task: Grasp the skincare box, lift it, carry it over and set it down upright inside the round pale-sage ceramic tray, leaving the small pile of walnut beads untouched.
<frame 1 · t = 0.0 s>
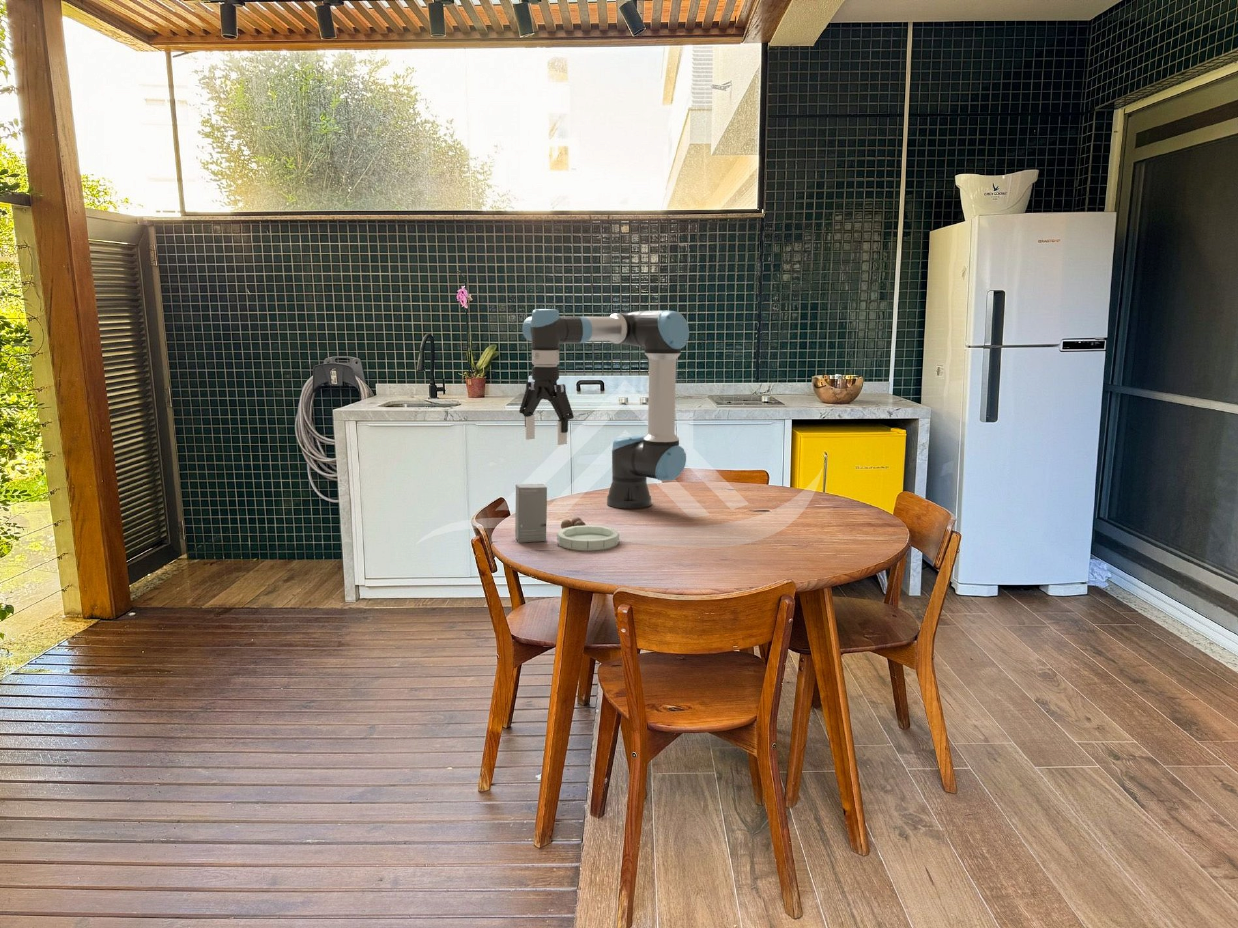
hand: (545, 441, 234), 28 cm above the table, fingers open, 13 cm apart
bead b: (567, 531, 246), on the table
bead c: (579, 532, 245), on the table
tray: (588, 542, 235), on the table
bead a: (576, 529, 249), on the table
skincare box: (531, 539, 238), on the table
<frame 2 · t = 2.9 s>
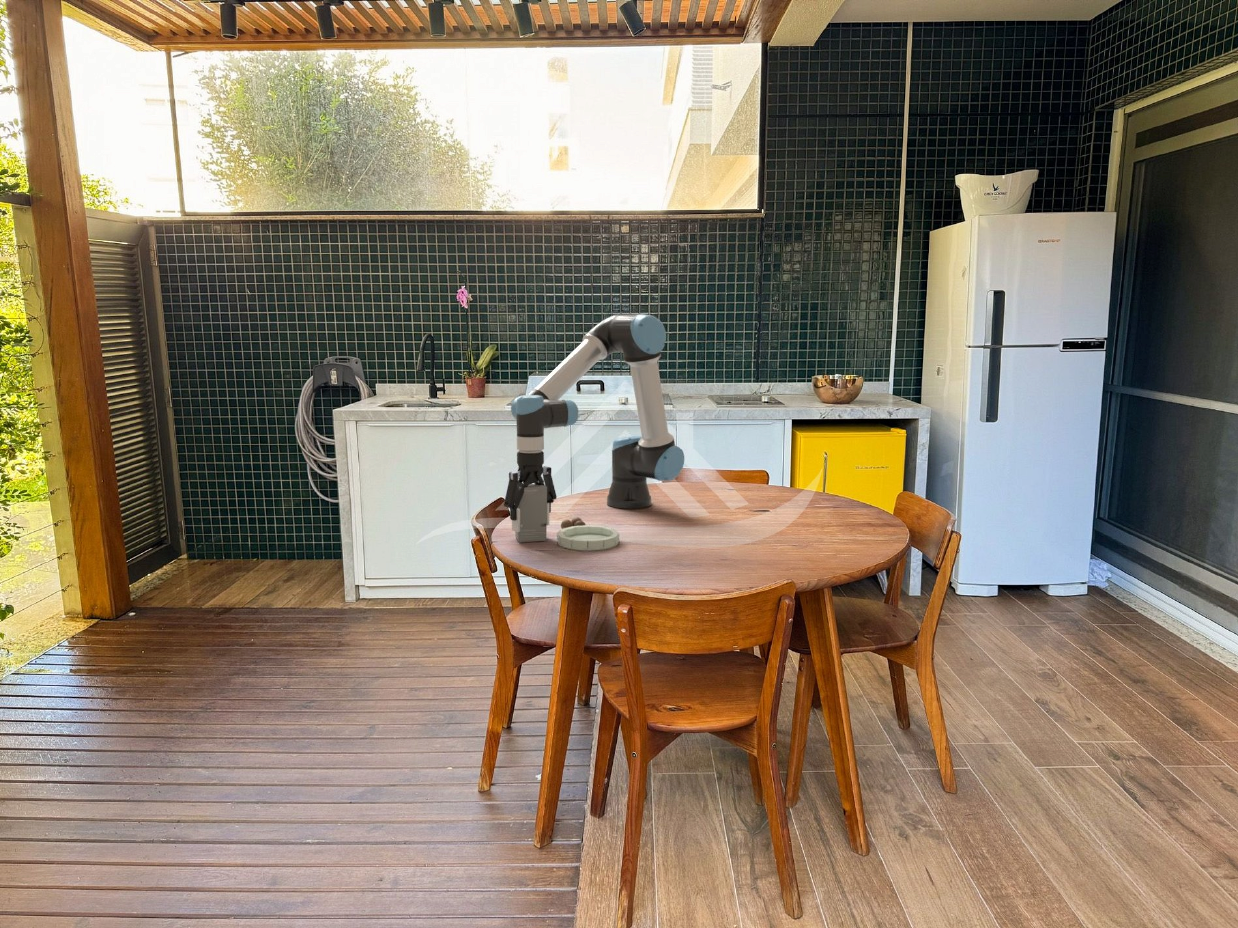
hand: (531, 527, 237), 3 cm above the table, fingers closed on skincare box, 10 cm apart
skincare box: (531, 539, 238), on the table, touching gripper
everything else where it was.
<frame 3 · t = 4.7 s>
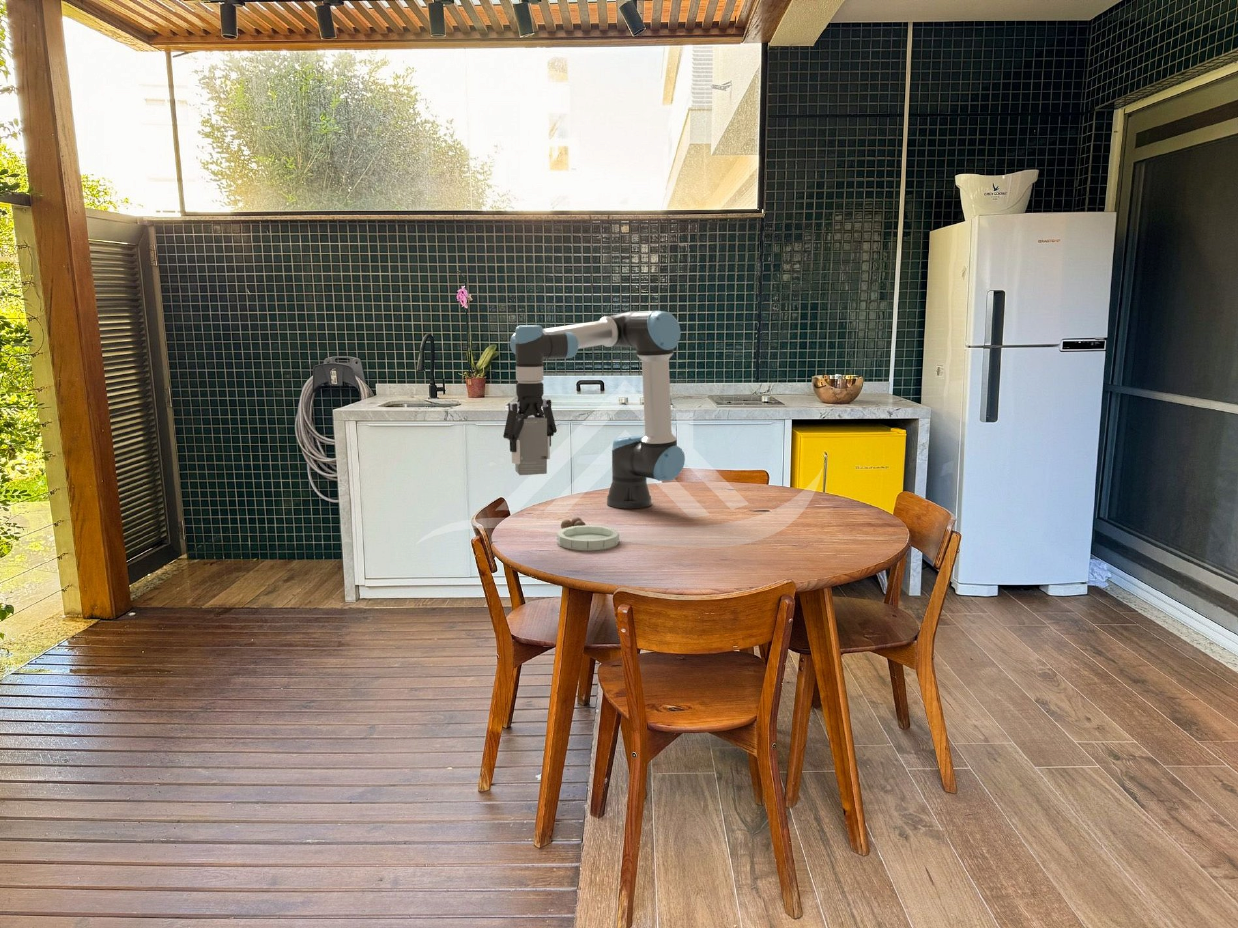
hand: (531, 460, 234), 23 cm above the table, fingers closed on skincare box, 10 cm apart
skincare box: (531, 473, 235), point 19 cm above the table, touching gripper
everything else where it was.
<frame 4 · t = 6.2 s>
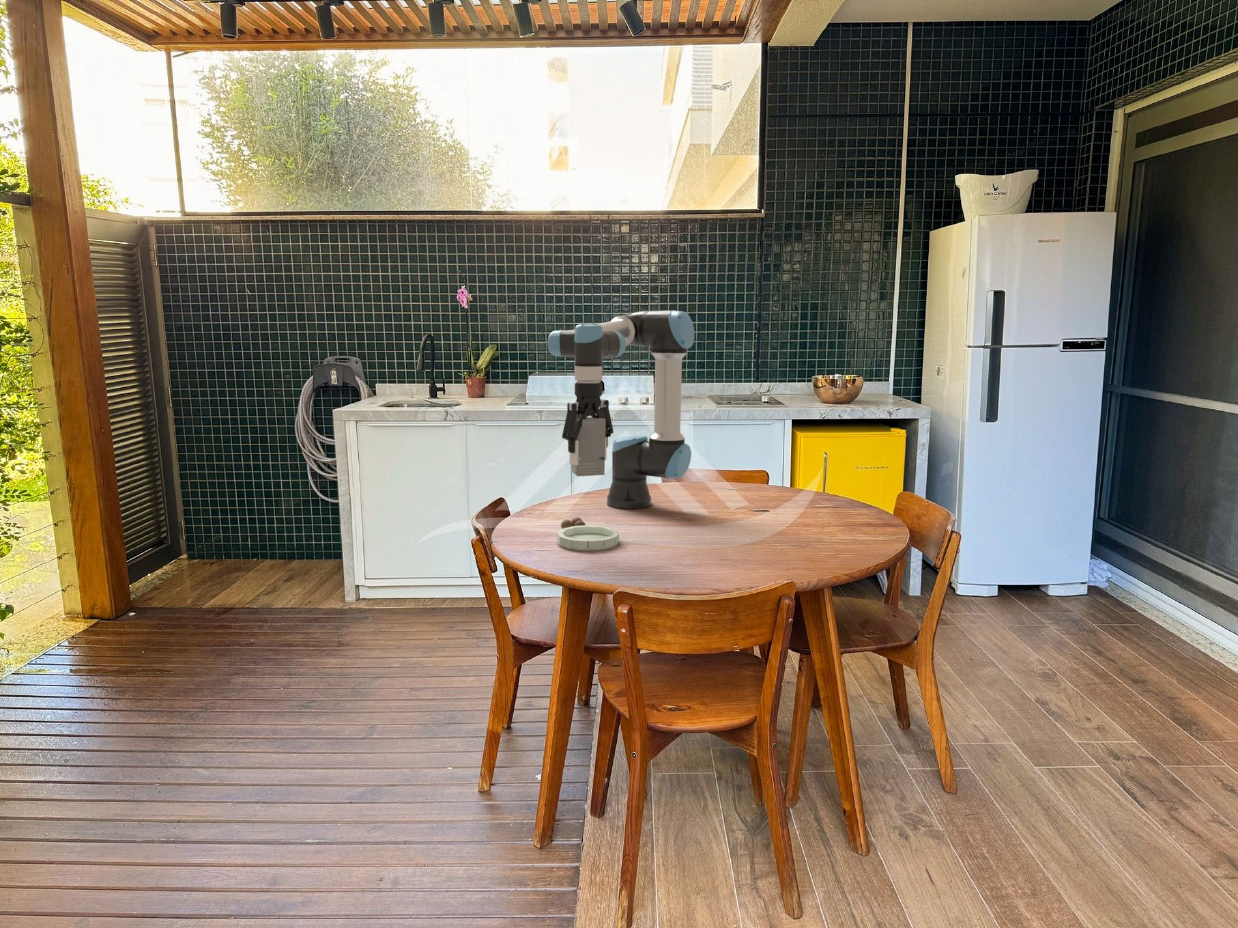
hand: (588, 462, 231), 23 cm above the table, fingers closed on skincare box, 10 cm apart
skincare box: (588, 474, 231), point 19 cm above the table, touching gripper
everything else where it was.
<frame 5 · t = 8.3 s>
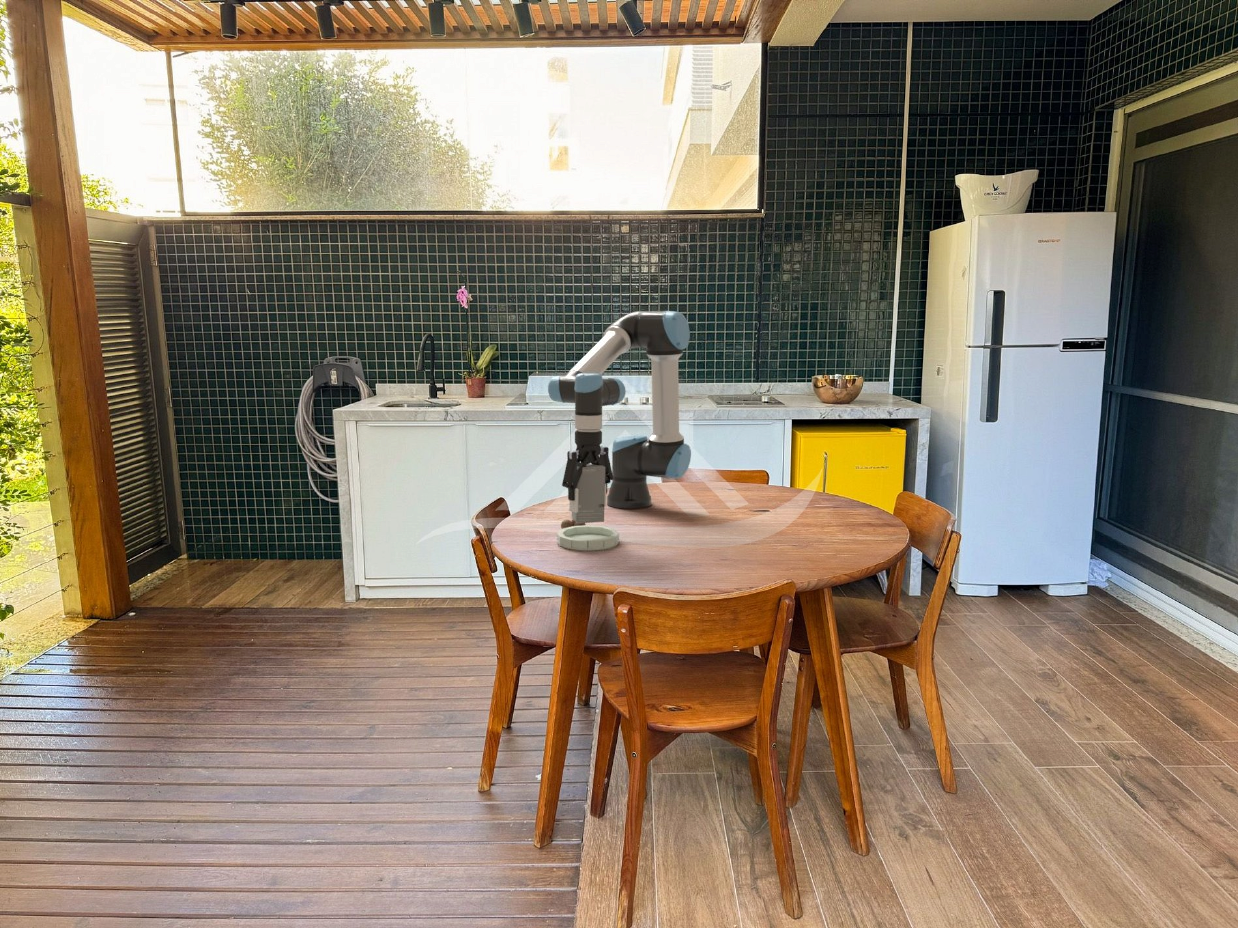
hand: (588, 508, 233), 10 cm above the table, fingers closed on skincare box, 10 cm apart
skincare box: (588, 520, 233), point 6 cm above the table, touching gripper
everything else where it was.
when the fingers open (6 cm above the table, at t = 9.9 s): skincare box drops 1 cm, resting on tray.
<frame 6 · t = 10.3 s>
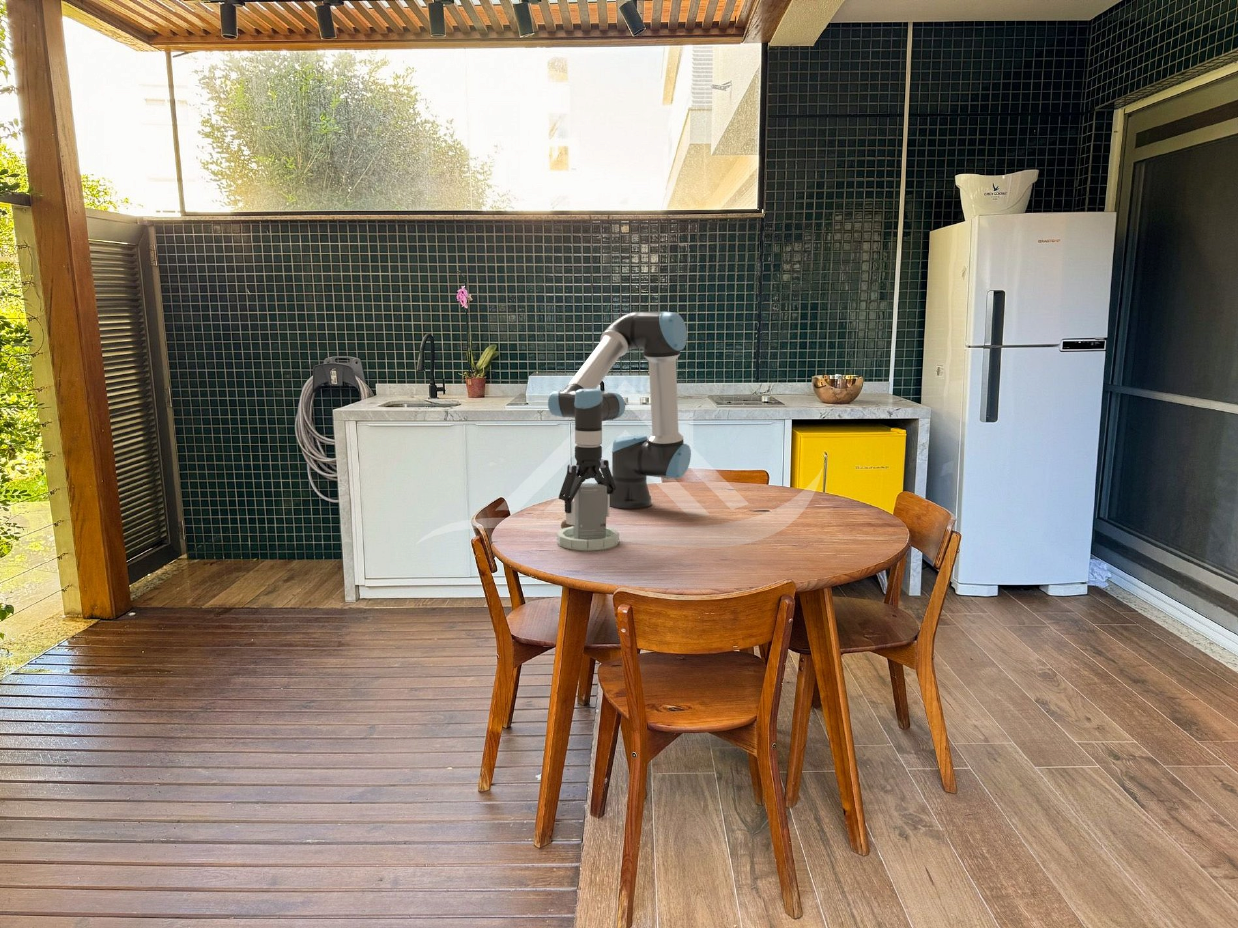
hand: (588, 520, 233), 6 cm above the table, fingers open, 13 cm apart
skincare box: (589, 539, 235), point 1 cm above the table, touching tray
everything else where it was.
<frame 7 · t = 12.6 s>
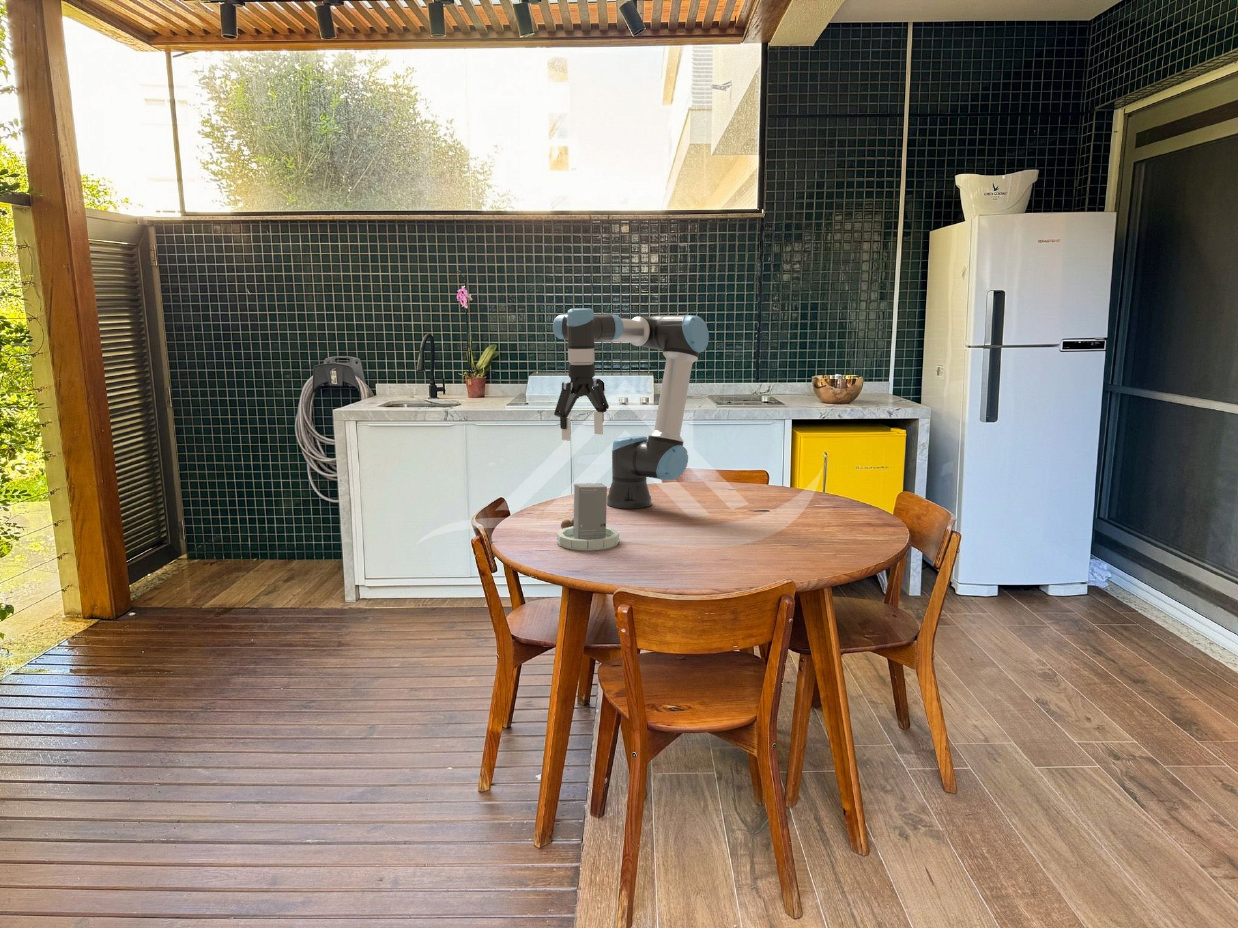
hand: (582, 437, 241), 28 cm above the table, fingers open, 13 cm apart
nothing on the table moved.
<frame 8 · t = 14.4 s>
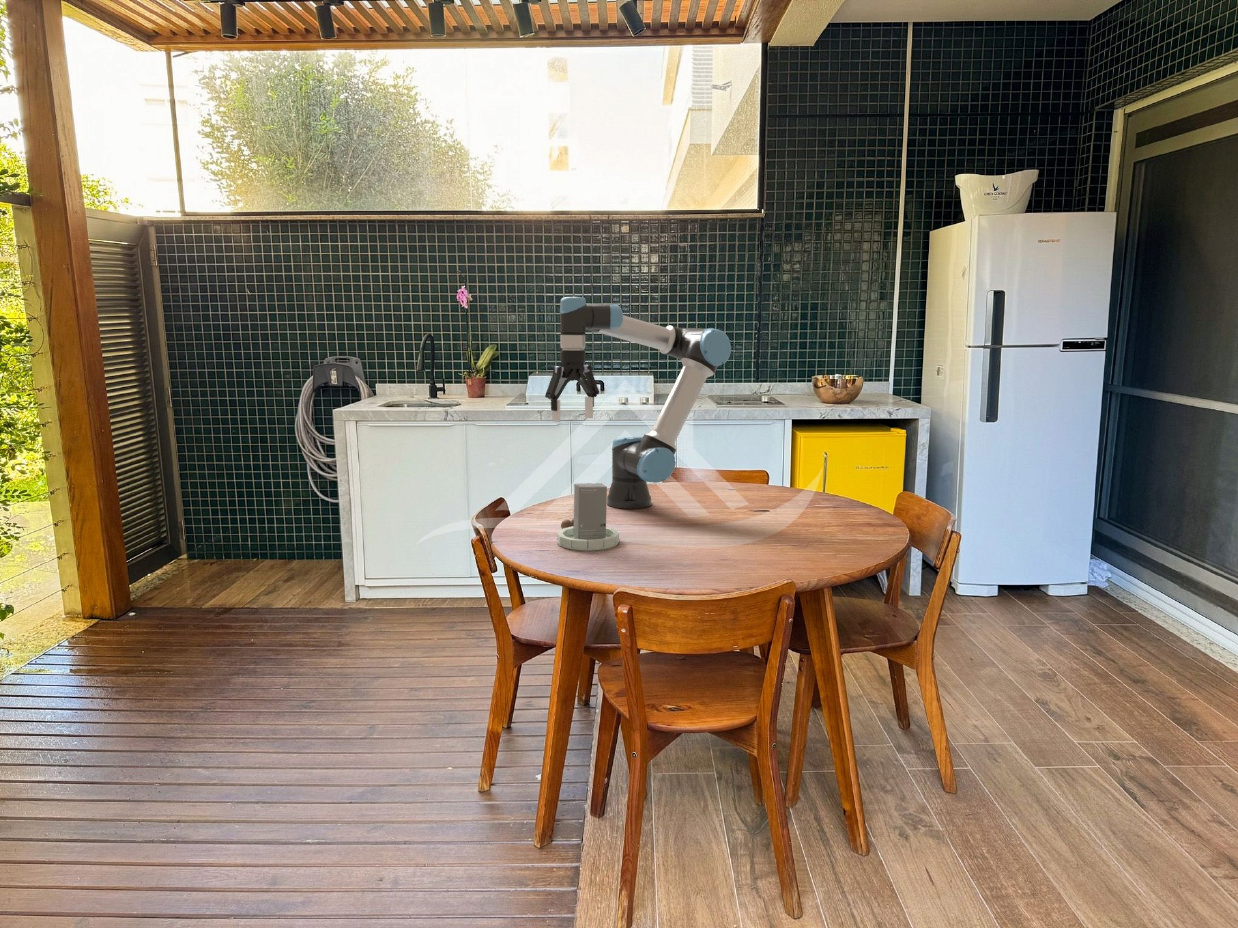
hand: (572, 419, 253), 32 cm above the table, fingers open, 13 cm apart
nothing on the table moved.
at the end: skincare box inside the target area on the tray (0.7 cm from its centre), point 0.6 cm above the tray's base; skincare box tilted 0°; the gripper is holding nothing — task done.
